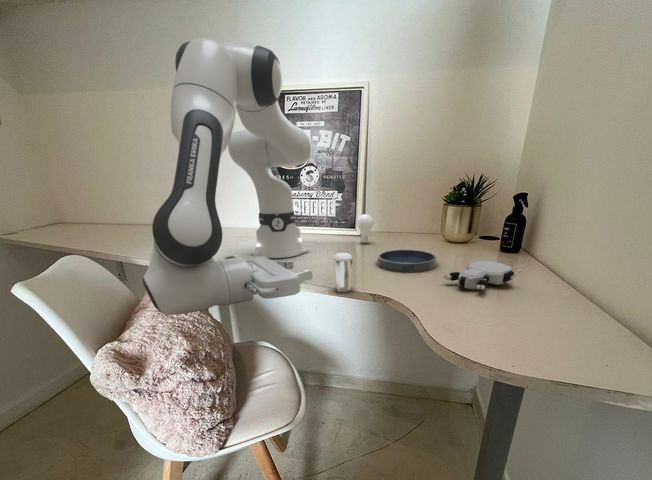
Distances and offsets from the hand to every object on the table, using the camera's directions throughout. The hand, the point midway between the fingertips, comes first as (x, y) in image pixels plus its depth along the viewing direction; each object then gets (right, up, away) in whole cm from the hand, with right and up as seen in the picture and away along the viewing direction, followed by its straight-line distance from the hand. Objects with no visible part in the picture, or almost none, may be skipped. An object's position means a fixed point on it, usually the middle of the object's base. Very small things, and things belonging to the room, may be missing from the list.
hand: (301, 269), depth 73 cm
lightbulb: (+18, +18, +57) cm, 63 cm away
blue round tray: (+29, +5, +28) cm, 41 cm away
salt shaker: (+10, -4, +8) cm, 14 cm away
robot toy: (+43, -3, +9) cm, 44 cm away
